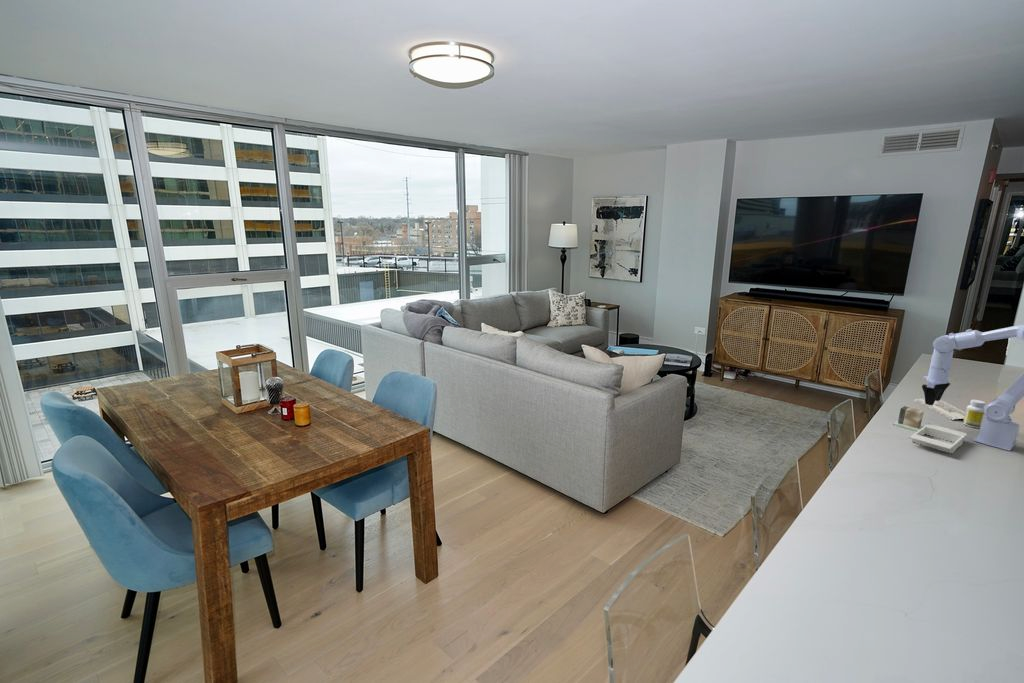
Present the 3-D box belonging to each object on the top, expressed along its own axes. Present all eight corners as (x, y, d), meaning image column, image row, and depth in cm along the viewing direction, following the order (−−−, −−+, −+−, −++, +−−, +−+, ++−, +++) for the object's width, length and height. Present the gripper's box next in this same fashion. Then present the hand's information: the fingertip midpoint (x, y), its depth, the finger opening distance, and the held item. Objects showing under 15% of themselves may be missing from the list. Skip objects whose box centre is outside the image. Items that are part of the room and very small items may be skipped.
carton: (965, 441, 176) (967, 433, 175) (948, 456, 165) (950, 448, 164) (926, 430, 185) (928, 423, 184) (907, 445, 173) (909, 437, 173)
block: (920, 425, 188) (923, 410, 186) (916, 428, 185) (920, 413, 184) (901, 420, 192) (904, 406, 191) (897, 423, 190) (900, 408, 189)
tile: (925, 427, 188) (925, 425, 188) (918, 431, 184) (919, 430, 184) (899, 420, 194) (899, 419, 194) (892, 424, 190) (893, 423, 190)
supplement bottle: (985, 429, 186) (991, 404, 184) (968, 427, 188) (974, 403, 185) (975, 423, 192) (981, 399, 189) (959, 422, 193) (964, 398, 190)
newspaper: (986, 423, 193) (986, 417, 193) (951, 424, 195) (952, 418, 194) (943, 402, 215) (943, 396, 215) (912, 403, 217) (912, 398, 216)
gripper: (932, 361, 191) (925, 395, 194) (919, 368, 183) (912, 403, 186) (956, 366, 186) (948, 400, 189) (944, 373, 177) (936, 409, 181)
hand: (932, 402), depth 187 cm, fingers open, 7 cm apart
